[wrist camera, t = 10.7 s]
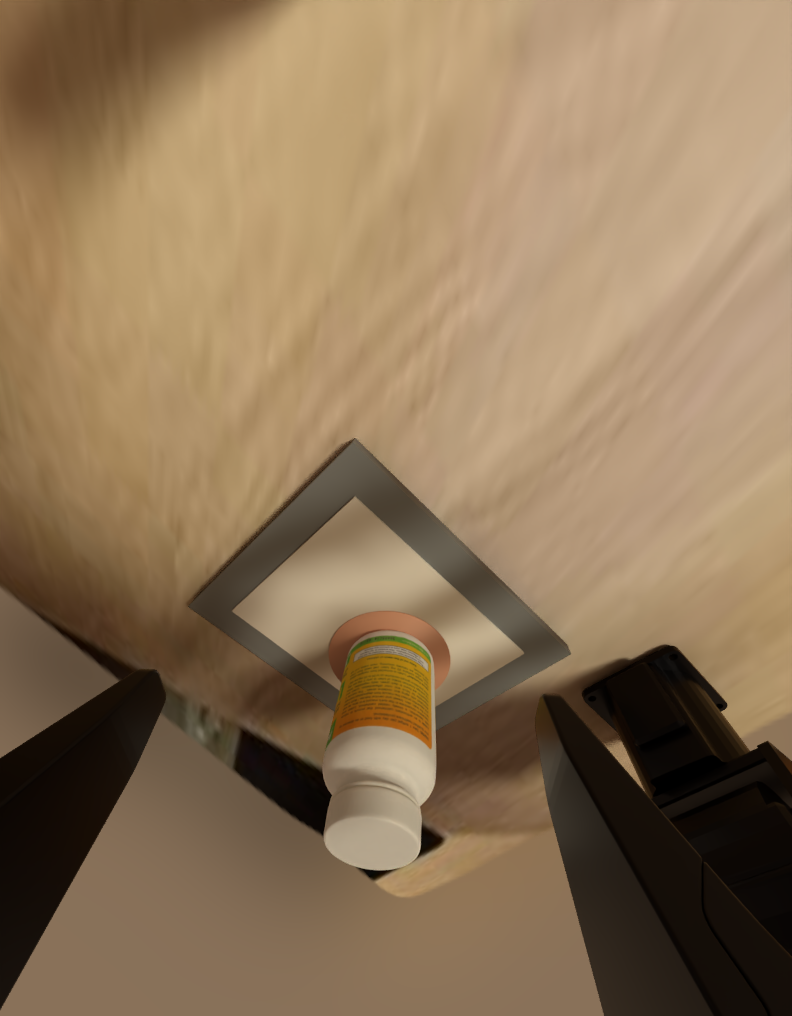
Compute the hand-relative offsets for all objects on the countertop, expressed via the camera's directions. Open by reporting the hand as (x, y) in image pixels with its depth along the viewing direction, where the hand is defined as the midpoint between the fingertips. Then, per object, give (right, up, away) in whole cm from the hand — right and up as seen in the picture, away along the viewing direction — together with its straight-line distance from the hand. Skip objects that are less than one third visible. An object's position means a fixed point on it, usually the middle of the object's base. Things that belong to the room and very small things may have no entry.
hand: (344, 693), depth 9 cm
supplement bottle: (+1, -5, +16) cm, 17 cm away
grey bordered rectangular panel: (0, -3, +16) cm, 16 cm away
